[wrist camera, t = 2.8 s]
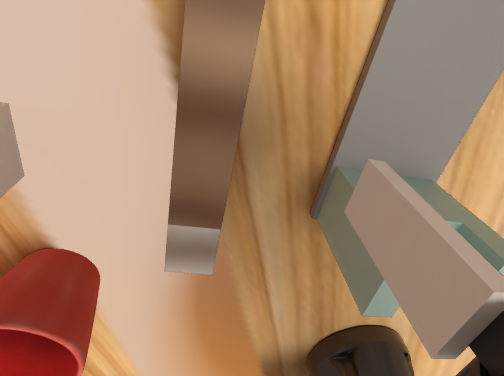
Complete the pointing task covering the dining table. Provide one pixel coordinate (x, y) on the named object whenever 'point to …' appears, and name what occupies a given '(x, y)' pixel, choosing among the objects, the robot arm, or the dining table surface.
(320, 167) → the dining table surface
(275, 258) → the dining table surface
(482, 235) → the notched cradle stand
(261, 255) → the dining table surface
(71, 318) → the flower pot
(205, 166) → the rail
